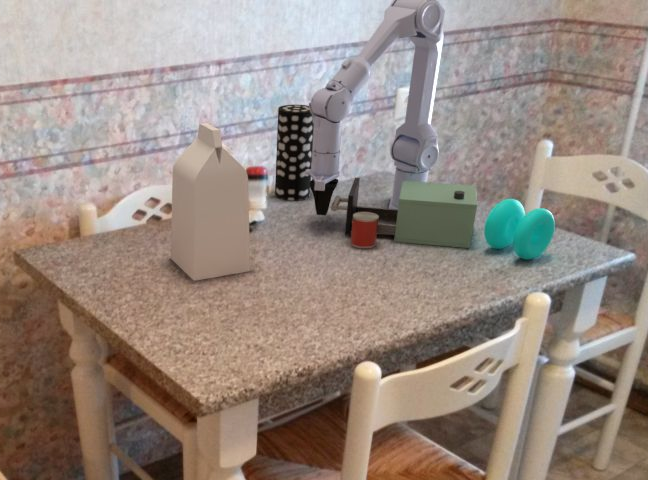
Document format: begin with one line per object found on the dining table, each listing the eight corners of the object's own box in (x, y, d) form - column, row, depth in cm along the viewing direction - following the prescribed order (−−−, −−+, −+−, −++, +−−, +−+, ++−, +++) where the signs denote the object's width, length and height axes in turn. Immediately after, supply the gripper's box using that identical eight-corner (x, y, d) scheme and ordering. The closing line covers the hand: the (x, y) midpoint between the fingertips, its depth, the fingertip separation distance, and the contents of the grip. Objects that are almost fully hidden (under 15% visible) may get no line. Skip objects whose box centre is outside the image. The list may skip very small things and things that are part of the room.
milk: (170, 258, 159) (166, 122, 146) (224, 249, 163) (225, 116, 150) (193, 280, 150) (192, 137, 137) (250, 271, 154) (253, 130, 140)
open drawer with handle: (334, 213, 181) (337, 176, 176) (420, 220, 176) (425, 182, 172) (327, 233, 170) (330, 194, 165) (417, 241, 166) (423, 201, 161)
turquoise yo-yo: (510, 240, 167) (519, 193, 162) (551, 255, 160) (562, 206, 155) (477, 250, 163) (485, 201, 157) (518, 266, 155) (528, 215, 150)
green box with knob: (397, 221, 178) (403, 174, 173) (469, 227, 174) (477, 180, 169) (394, 241, 167) (399, 193, 162) (469, 248, 164) (478, 198, 158)
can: (351, 238, 168) (354, 210, 165) (376, 241, 167) (379, 212, 164) (349, 247, 164) (351, 218, 161) (374, 249, 163) (377, 220, 160)
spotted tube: (273, 199, 191) (276, 111, 181) (276, 189, 198) (279, 104, 188) (308, 201, 190) (314, 113, 180) (310, 190, 197) (316, 105, 187)
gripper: (312, 140, 175) (308, 202, 182) (301, 158, 163) (297, 223, 170) (345, 142, 173) (340, 204, 180) (336, 160, 161) (331, 226, 168)
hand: (321, 214), depth 175 cm, fingers closed
